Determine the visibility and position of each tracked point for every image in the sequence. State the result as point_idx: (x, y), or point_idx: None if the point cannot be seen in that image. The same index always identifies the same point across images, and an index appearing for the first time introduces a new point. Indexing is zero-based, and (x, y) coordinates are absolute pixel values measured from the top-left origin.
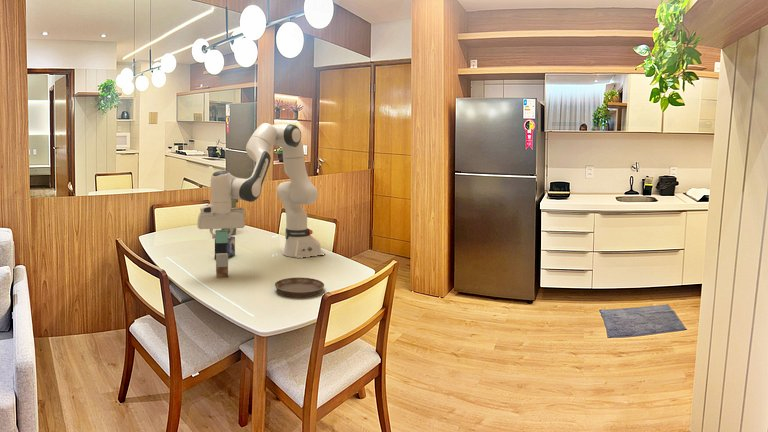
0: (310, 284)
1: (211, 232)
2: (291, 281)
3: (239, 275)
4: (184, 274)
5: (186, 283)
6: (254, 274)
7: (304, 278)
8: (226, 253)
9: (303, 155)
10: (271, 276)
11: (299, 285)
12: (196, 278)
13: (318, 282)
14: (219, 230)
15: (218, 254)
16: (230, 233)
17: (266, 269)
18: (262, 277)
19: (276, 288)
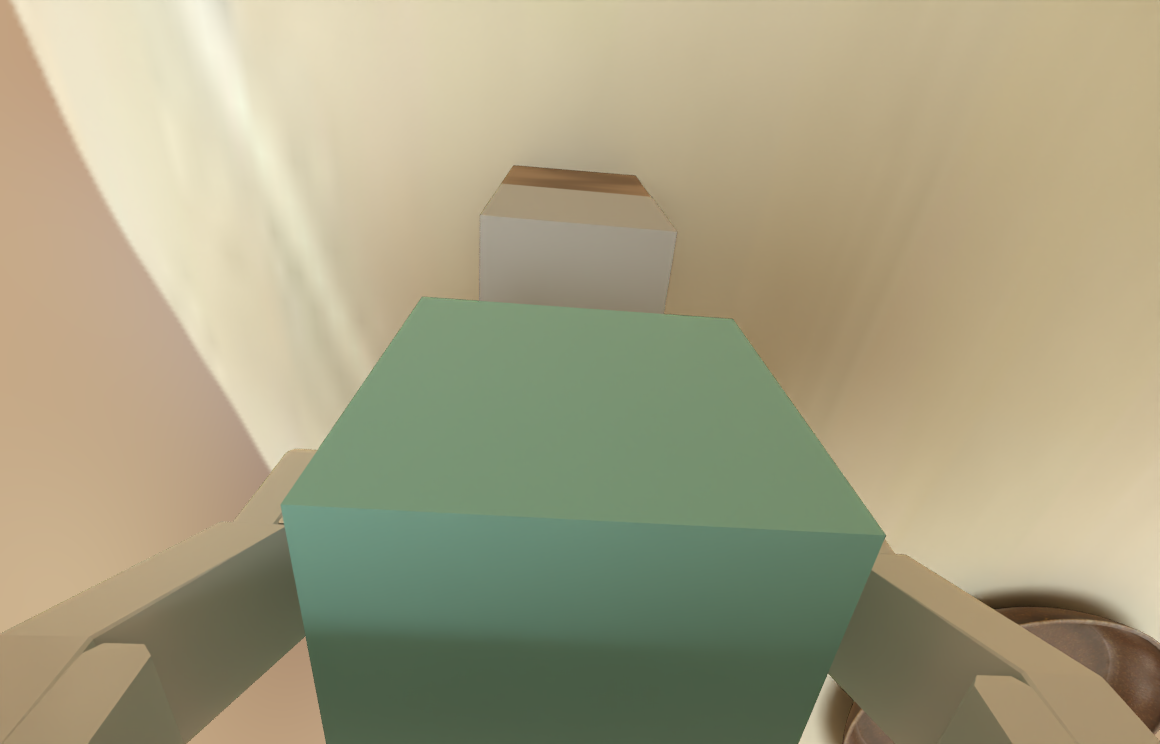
0: (1110, 640)
1: (179, 718)
2: (1024, 614)
3: (740, 260)
4: (144, 35)
5: (245, 380)
6: (890, 266)
7: (1131, 632)
8: (656, 253)
9: None
10: (999, 373)
11: (1036, 633)
12: (313, 248)
13: (1157, 685)
14: (492, 626)
15: (519, 288)
16: (859, 682)
17: (1108, 96)
18: (912, 382)
19: (845, 728)
